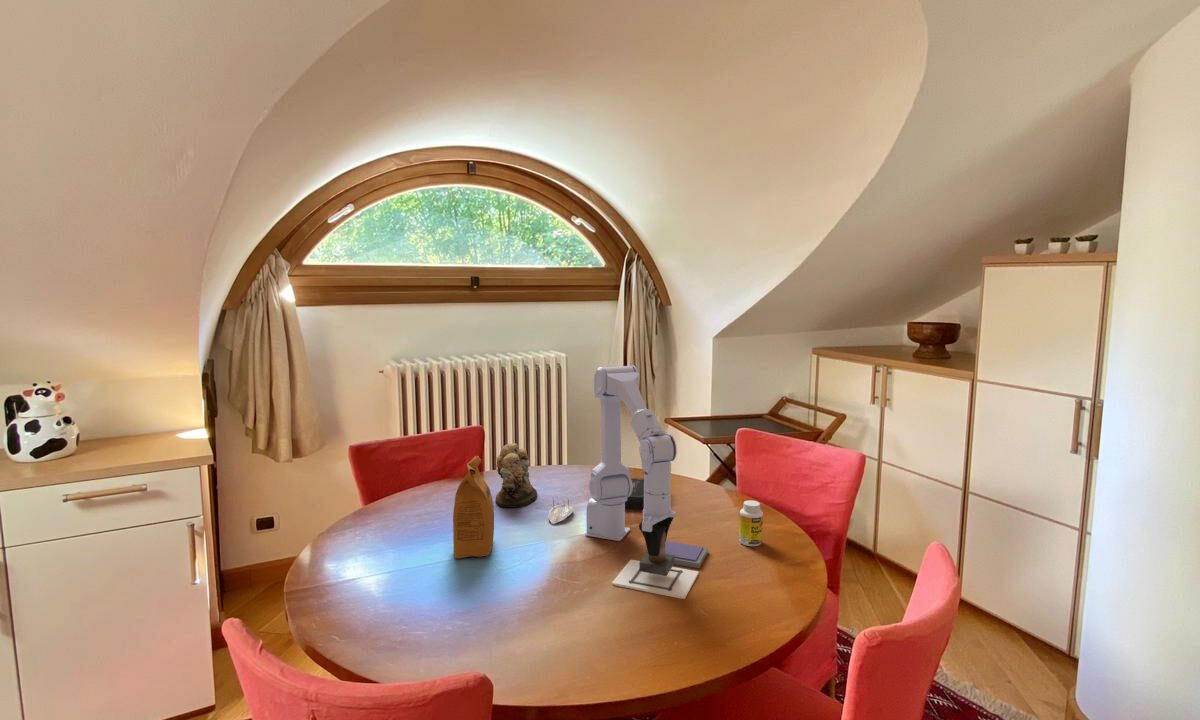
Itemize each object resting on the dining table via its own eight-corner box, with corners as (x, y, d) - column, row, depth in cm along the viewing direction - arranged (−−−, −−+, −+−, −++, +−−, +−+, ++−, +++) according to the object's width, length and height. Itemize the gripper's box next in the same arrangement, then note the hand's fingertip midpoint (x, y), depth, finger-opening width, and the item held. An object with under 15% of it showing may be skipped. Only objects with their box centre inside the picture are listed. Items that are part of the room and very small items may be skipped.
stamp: (639, 571, 137) (639, 535, 136) (647, 559, 142) (648, 525, 141) (666, 576, 135) (666, 540, 133) (673, 563, 140) (674, 529, 139)
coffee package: (499, 538, 160) (497, 453, 157) (491, 560, 148) (489, 469, 145) (460, 538, 160) (457, 453, 157) (448, 560, 148) (445, 469, 145)
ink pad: (652, 560, 148) (652, 554, 148) (663, 544, 156) (663, 539, 156) (699, 568, 144) (699, 562, 144) (707, 552, 152) (708, 546, 152)
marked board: (611, 584, 136) (612, 581, 136) (630, 561, 147) (630, 558, 147) (684, 599, 130) (684, 596, 130) (698, 573, 141) (698, 570, 141)
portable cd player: (607, 489, 197) (607, 477, 197) (663, 492, 195) (663, 479, 194) (600, 509, 181) (600, 495, 181) (661, 512, 179) (661, 498, 178)
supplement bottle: (750, 549, 154) (752, 508, 152) (734, 541, 158) (735, 501, 157) (766, 543, 157) (768, 504, 155) (749, 536, 161) (751, 497, 160)
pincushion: (563, 527, 168) (563, 506, 167) (542, 524, 169) (542, 504, 169) (578, 510, 179) (578, 491, 178) (557, 508, 181) (557, 489, 180)
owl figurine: (530, 511, 179) (529, 452, 176) (489, 510, 180) (487, 451, 177) (541, 488, 197) (539, 435, 194) (503, 488, 197) (501, 434, 195)
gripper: (665, 504, 128) (664, 568, 130) (684, 482, 141) (683, 540, 143) (632, 499, 131) (632, 562, 132) (653, 478, 144) (653, 536, 146)
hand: (656, 551), depth 138 cm, fingers closed on stamp, 4 cm apart
